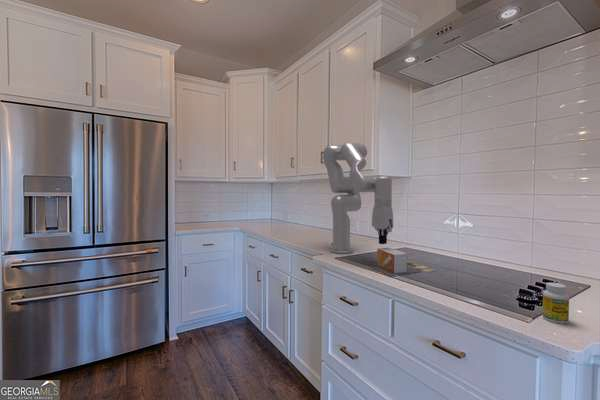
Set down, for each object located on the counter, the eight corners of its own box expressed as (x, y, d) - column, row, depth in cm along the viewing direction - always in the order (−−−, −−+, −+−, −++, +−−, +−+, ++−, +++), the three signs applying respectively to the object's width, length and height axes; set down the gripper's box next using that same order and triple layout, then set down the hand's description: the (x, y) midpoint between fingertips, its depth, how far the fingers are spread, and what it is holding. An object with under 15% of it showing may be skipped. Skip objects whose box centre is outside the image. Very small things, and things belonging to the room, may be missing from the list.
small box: (376, 248, 132) (394, 254, 120) (388, 247, 134) (407, 253, 122) (376, 266, 133) (394, 273, 120) (389, 264, 134) (407, 272, 122)
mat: (369, 267, 130) (369, 267, 130) (397, 264, 136) (397, 263, 136) (390, 276, 117) (390, 276, 117) (421, 271, 124) (421, 271, 124)
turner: (398, 263, 138) (398, 260, 138) (406, 261, 140) (406, 259, 140) (426, 272, 123) (426, 270, 123) (435, 271, 125) (435, 268, 125)
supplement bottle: (559, 316, 81) (560, 281, 81) (573, 325, 76) (575, 288, 76) (537, 314, 82) (538, 281, 82) (550, 323, 77) (551, 287, 76)
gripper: (366, 203, 138) (366, 241, 139) (387, 204, 125) (386, 247, 125) (379, 202, 141) (379, 240, 142) (401, 204, 128) (400, 245, 128)
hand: (382, 243), depth 134 cm, fingers closed
